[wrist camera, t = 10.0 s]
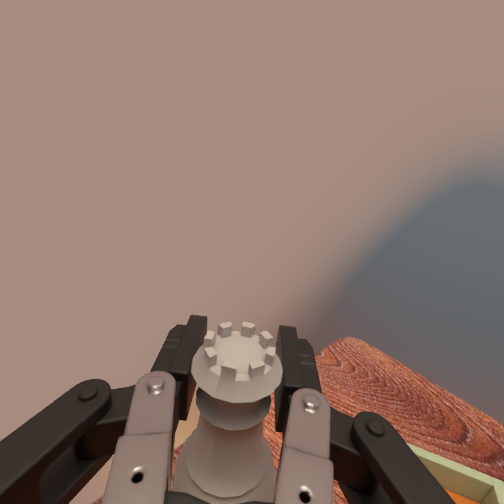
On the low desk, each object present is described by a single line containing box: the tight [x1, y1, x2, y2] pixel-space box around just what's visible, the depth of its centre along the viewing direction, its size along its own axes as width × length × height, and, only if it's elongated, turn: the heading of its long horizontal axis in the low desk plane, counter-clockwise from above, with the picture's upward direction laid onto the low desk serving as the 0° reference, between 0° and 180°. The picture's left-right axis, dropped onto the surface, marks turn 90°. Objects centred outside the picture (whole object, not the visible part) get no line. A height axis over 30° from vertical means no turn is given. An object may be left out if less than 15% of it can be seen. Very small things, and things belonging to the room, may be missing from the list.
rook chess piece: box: [172, 322, 283, 504], centre depth 12 cm, size 4×4×8 cm
